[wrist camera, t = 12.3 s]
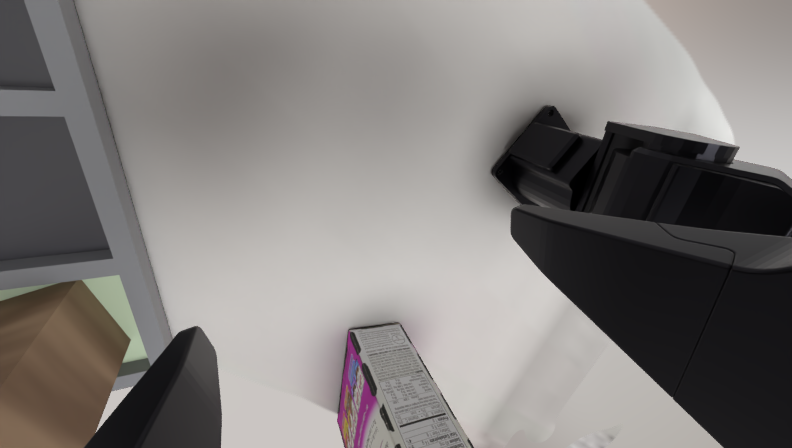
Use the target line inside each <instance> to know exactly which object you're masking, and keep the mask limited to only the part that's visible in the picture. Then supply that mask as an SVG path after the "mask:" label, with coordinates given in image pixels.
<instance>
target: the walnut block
mask: <svg viewBox="0 0 792 448" xmlns="http://www.w3.org/2000/svg"><path fill="white" fill-rule="evenodd" d="M130 341H131V339H130V338H129V337H128V336H127V334H126V333H125V332H124V331H123V330H122V328H121V327H120V326H119V325H118V323H117V322H116V321H115V320H114V319H113V317H112V316H111V315H110V314H109V312H108V311H107V310H106V309H105V308H104V306H103V305H102V304H101V303H100V301H99V300H98V299H97V298H96V297H95V295H94V294H93V293H92V292H91V291H90V289H89V288H88V287H87V286H86V284H85V283H84V282H83V281H82V280H76V281H69V282H61V283H58V284H54V285H51V286H48V287H45V288H41V289H38V290H35V291H32V292H28V293H25V294H22V295H19V296H15V297H12V298H9V299H6V300H2V301H0V448H84V446H85V445H86V444H87V443H88V442H89V440H90V439H91V438H92V437H93V436H94V434H95V432H96V430H97V427H98V424H99V421H100V419H101V417H102V414H103V411H104V409H105V406H106V404H107V401H108V398H109V396H110V393H111V391H112V388H113V385H114V383H115V380H116V378H117V375H118V372H119V370H120V367H121V365H122V362H123V359H124V357H125V354H126V352H127V349H128V346H129V344H130Z"/></svg>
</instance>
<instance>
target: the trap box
mask: <svg viewBox="0 0 792 448" xmlns="http://www.w3.org/2000/svg"><path fill="white" fill-rule="evenodd" d="M76 280H82V281H83V282H84V283H85V284H86V286H87V287H88V288H89V289H90V291H91V292H92V293H93V294H94V295H95V297H96V298H97V299H98V300H99V301H100V303H101V304H102V305H103V306H104V308H105V309H106V310H107V311H108V312H109V314H110V315H111V316H112V317H113V319H114V320H115V321H116V322H117V323H118V325H119V326H120V327H121V328H122V330H123V331H124V332H125V333H126V334H127V336H128V337H129V338H130V339H131V341H130V344H129V346H128V349H127V352H126V354H125V357H124V359H123V362H122V365H121V367H120V370H119V372H118V375H117V378H116V380H115V383H114V385H113V388H112V391H115V390H119V389H124V388H128V387H132V386H135V385H136V384H137V382H138V381H139V380H140V379H141V377H142V376H143V375H144V374H145V373H146V371H147V370H148V369H149V368H150V367H151V365H152V364H153V363H154V362H155V360H156V359H157V358H158V357H159V356H160V354H161V353H162V352H163V351H164V350H165V348H166V347H167V346H168V345H169V344H170V342H171V341H172V340H173V339H172V336H171V333H170V329H169V326H168V322H167V319H166V315H165V312H164V309H163V305H162V302H161V298H160V295H159V292H158V288H157V285H156V281H155V278H154V274H153V271H152V268H151V264H150V261H149V257H148V254H147V251H146V247H145V244H144V240H143V237H142V234H141V230H140V227H139V223H138V220H137V216H136V213H135V210H134V206H133V203H132V199H131V196H130V193H129V189H128V186H127V182H126V179H125V176H124V172H123V169H122V165H121V162H120V158H119V155H118V152H117V148H116V145H115V141H114V138H113V135H112V131H111V128H110V124H109V121H108V117H107V114H106V111H105V107H104V104H103V100H102V97H101V94H100V90H99V87H98V83H97V80H96V77H95V73H94V70H93V66H92V63H91V59H90V56H89V53H88V49H87V46H86V42H85V39H84V36H83V32H82V29H81V25H80V22H79V18H78V15H77V12H76V8H75V5H74V1H73V0H0V301H2V300H6V299H9V298H12V297H15V296H19V295H22V294H25V293H28V292H32V291H35V290H38V289H41V288H45V287H48V286H51V285H54V284H58V283H61V282H69V281H76Z"/></svg>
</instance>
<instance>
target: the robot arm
mask: <svg viewBox="0 0 792 448" xmlns="http://www.w3.org/2000/svg"><path fill="white" fill-rule="evenodd" d="M549 111H550V113H549V115H548V112H549ZM605 131H606V132H605V134H604V137H603V140H601V139H597V138H594V137H590V136H586V135H582V134H578V133H576V132H572V131H570V129H569V128H568V126H567V125H566V123H565V121H564V120H563V118H562V117H561V115H560V114H559V112H558V111H557V109H556V108H555V107H554V106H549V105H548V106H545V107H544V108H543V110H542V111H541V112H540V113H539V114H538V116H537V117H536V118H535V119H534V120H533V122H532V123H531V124H530V125H529V126H528V128H527V129H526V130H525V131H524V132H523V133H522V135H521V136H520V137H519V138H518V139H517V141H516V142H515V143H514V144H513V145H512V147H511V148H510V149H509V150H508V151H507V153H506V154H505V155H504V156H503V157H502V159H501V160H500V161H499V162H498V163H497V165H496V166H495V167H494V168H493V171H492V175H493V177H494V178H495V179H496V180H497V181H498V182H499V183H500V184H501V185H502V186H503V187H504V188H505V189H506V190H507V191H508V192H509V193H510V194H511V195H512V196H513V197H514V198H515V199H516V200H517V201H518V202H519V204H520V205H521V206H518V207H515V208H513V209H512V211H511V235H512V237H513V239H514V240H515V241H516V243H517V244H518V245H519V246H520V247H521V248H522V250H523V251H524V252H525V253H526V254H527V256H528V257H529V258H530V259H531V260H532V261H533V263H534V264H535V265H536V266H537V267H538V269H539V270H540V271H541V272H542V273H543V274H544V275H545V276H546V277H547V278H548V279H549V280H550V281H551V282H552V283H553V284H554V285H555V286H556V287H557V288H558V289H559V290H560V291H561V292H562V293H563V294H565V295H566V296H567V297H568V298H569V299H570V300H571V301H572V302H573V303H574V304H575V305H576V306H577V307H578V308H579V309H580V310H581V311H582V312H583V313H584V314H585V315H586V316H587V317H588V318H590V319H591V320H592V321H593V322H594V323H595V324H596V325H597V326H598V327H599V328H600V329H601V330H602V331H603V332H604V333H605V334H606V335H607V336H608V337H609V338H610V339H611V340H612V341H614V342H615V343H616V344H617V345H618V346H619V347H620V348H621V349H622V350H623V351H624V352H625V353H626V354H627V355H628V356H629V357H630V358H631V359H632V360H633V361H634V362H635V363H636V364H637V365H638V366H639V367H641V368H642V369H643V370H644V371H645V372H646V373H647V374H648V375H649V376H650V377H651V378H652V379H653V380H654V381H655V382H656V383H657V384H658V385H659V386H660V387H661V388H663V390H664V391H666V392H667V393H668V394H669V395H670V396H671V397H673V399H674V400H675V401H676V402H677V403H678V404H679V405H680V406H681V407H682V408H683V409H684V410H685V411H686V412H687V413H688V414H689V415H690V416H691V417H693V419H694V420H695V421H696V422H697V423H699V424H700V425H701V426H702V427H703V428H704V429H705V430H706V431H707V432H708V433H709V434H710V435H711V436H712V437H713V438H714V439H715V440H716V441H717V442H718V443H720V445H721V446H723V447H724V448H792V179H791V178H789V177H788V176H787V175H786V174H785V173H783V172H782V171H780V170H778V169H775V168H771V167H766V166H761V165H757V164H752V163H748V162H743V161H739V160H734V157H735V155H736V153H737V151H738V150H739V147H738V146H735V145H731V144H728V143H724V142H721V141H717V140H714V139H710V138H707V137H703V136H700V135H696V134H691V133H685V132H680V131H674V130H669V129H663V128H658V127H651V126H643V125H635V124H627V123H619V122H610V121H608V122H607V125H606V127H605ZM499 170H500V173H499V174H498V172H499ZM221 427H222V412H221V400H220V388H219V377H218V365H217V356H216V352H215V349H214V347H213V345H212V344H211V342H210V341H209V339H208V338H207V336H206V335H205V333H204V332H203V330H202V329H201V328H200V327H198V326H194V327H191V328H188V329H186V330H183V331H181V332H179V333H178V334H177V335H176V336H175V337H174V339H173V340H172V341H171V342H170V344H169V345H168V346H167V347H166V348H165V350H164V351H163V352H162V353H161V354H160V356H159V357H158V358H157V359H156V360H155V362H154V363H153V364H152V365H151V367H150V368H149V369H148V370H147V371H146V373H145V374H144V375H143V376H142V377H141V379H140V380H139V381H138V382H137V384H136V385H135V386H134V387H133V388H132V390H131V391H130V392H129V393H128V394H127V396H126V397H125V398H124V399H123V400H122V402H121V403H120V404H119V405H118V407H117V408H116V409H115V410H114V412H113V413H112V414H111V415H110V416H109V417H108V419H107V420H106V421H105V422H104V424H103V425H102V426H101V427H100V428H99V430H98V431H97V432H96V433H95V434H94V436H93V437H92V438H91V439H90V440H89V442H88V443H87V444H86V445H85V446H84V448H221Z"/></svg>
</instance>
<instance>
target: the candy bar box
mask: <svg viewBox="0 0 792 448" xmlns="http://www.w3.org/2000/svg"><path fill="white" fill-rule="evenodd" d="M337 422H338V424H339V428H340V431H341V435H342V439H343V443H344V447H345V448H474V447H473V445H472V443H471V442H470V440H469V438H468V437H467V435H466V434H465V432H464V430H463V429H462V427H461V425H460V424H459V422H458V420H457V419H456V417H455V416H454V414H453V412H452V411H451V409H450V407H449V405H448V404H447V402H446V400H445V399H444V397H443V395H442V393H441V391H440V390H439V388H438V386H437V385H436V383H435V382H434V380H433V378H432V377H431V375H430V373H429V371H428V370H427V368H426V366H425V365H424V363H423V361H422V359H421V357H420V356H419V354H418V352H417V351H416V349H415V347H414V346H413V344H412V342H411V341H410V339H409V337H408V336H407V334H406V332H405V330H404V329H403V327H402V325H401V324H400V323H393V324H385V325H380V326H374V327H367V328H359V329H353V330H349V333H348V341H347V350H346V357H345V365H344V373H343V381H342V389H341V396H340V404H339V412H338V419H337Z"/></svg>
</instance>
